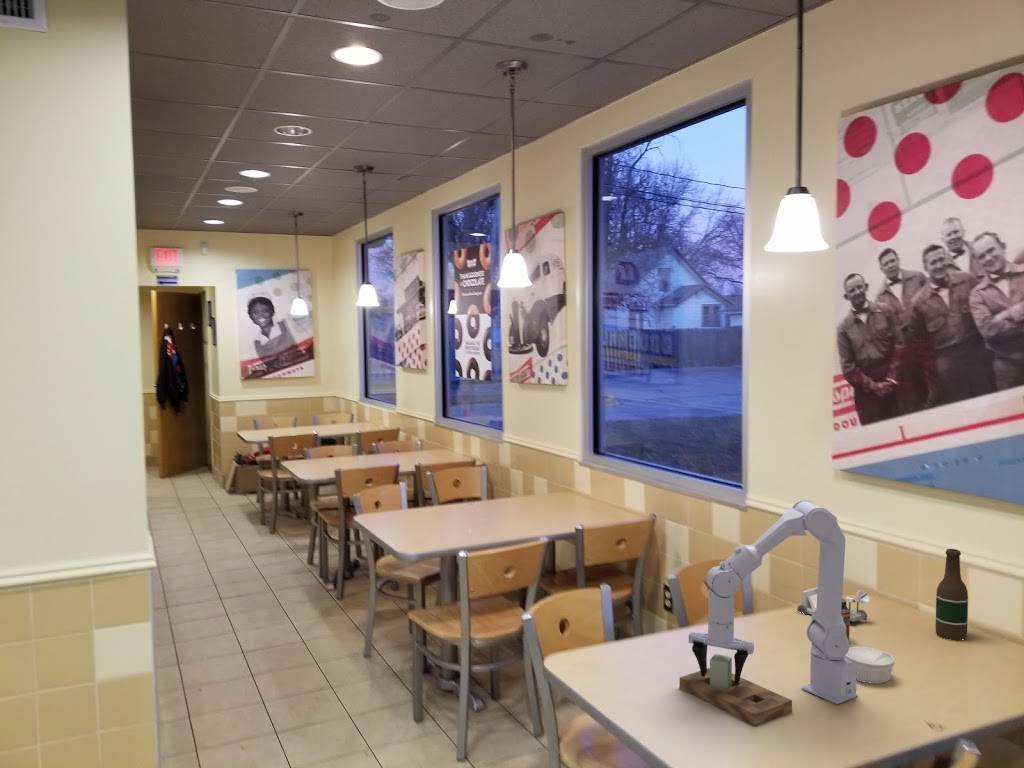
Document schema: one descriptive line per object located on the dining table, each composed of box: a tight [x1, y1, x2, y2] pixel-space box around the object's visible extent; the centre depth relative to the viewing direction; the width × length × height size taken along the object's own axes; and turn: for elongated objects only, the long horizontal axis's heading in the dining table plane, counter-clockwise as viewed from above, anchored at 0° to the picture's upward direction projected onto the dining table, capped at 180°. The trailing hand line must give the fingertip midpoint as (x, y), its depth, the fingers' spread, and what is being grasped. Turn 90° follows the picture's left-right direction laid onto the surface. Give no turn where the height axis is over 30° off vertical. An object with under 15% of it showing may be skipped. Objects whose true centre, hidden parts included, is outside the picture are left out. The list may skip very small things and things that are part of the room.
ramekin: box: [845, 646, 895, 684], centre depth 189 cm, size 11×11×5 cm
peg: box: [709, 653, 733, 691], centre depth 180 cm, size 4×4×8 cm
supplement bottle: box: [841, 598, 851, 641], centre depth 211 cm, size 6×6×11 cm
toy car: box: [796, 586, 870, 622], centre depth 229 cm, size 18×10×12 cm
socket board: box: [679, 667, 793, 727], centre depth 176 cm, size 22×12×2 cm, turn 33°
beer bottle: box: [935, 548, 969, 641], centre depth 214 cm, size 8×8×24 cm
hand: (720, 678), depth 179 cm, fingers open, 7 cm apart
